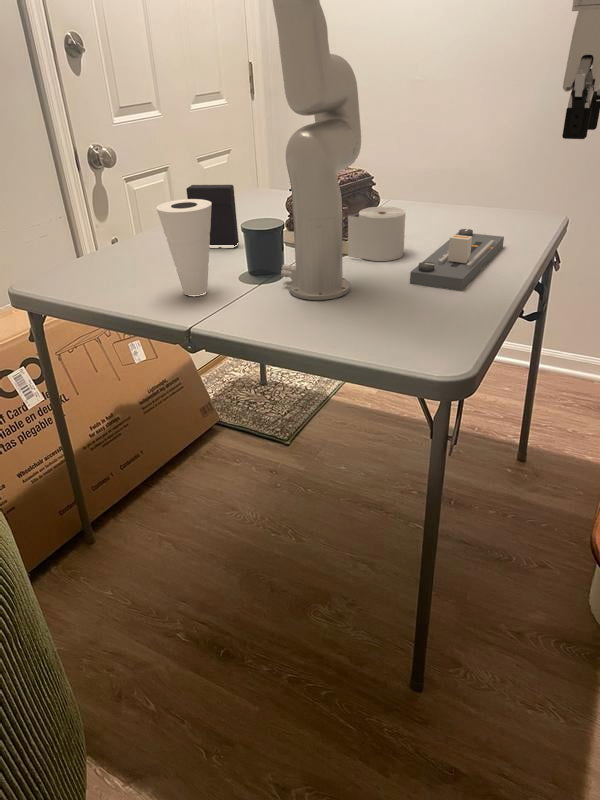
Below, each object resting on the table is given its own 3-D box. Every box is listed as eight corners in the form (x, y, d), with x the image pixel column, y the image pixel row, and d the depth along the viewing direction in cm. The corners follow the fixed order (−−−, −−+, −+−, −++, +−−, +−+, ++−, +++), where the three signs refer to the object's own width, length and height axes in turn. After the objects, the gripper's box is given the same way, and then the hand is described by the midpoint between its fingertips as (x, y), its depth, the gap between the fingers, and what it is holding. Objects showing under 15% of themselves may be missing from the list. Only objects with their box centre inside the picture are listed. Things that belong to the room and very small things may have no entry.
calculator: (239, 244, 159) (234, 183, 152) (235, 249, 156) (229, 187, 148) (199, 243, 161) (191, 184, 154) (193, 248, 158) (185, 187, 150)
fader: (447, 261, 132) (449, 237, 130) (451, 257, 134) (453, 234, 132) (466, 263, 131) (468, 239, 128) (469, 259, 133) (472, 236, 130)
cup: (231, 291, 130) (222, 203, 121) (190, 306, 124) (177, 214, 114) (200, 280, 137) (189, 196, 127) (160, 294, 130) (145, 207, 121)
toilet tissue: (412, 253, 147) (414, 210, 142) (383, 266, 140) (384, 221, 135) (376, 245, 154) (376, 204, 149) (345, 258, 146) (345, 215, 141)
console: (409, 283, 130) (410, 265, 128) (457, 242, 153) (459, 226, 151) (461, 290, 125) (463, 272, 123) (502, 247, 148) (504, 231, 146)
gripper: (583, 0, 92) (563, 125, 101) (562, -3, 79) (541, 141, 88) (640, -4, 89) (614, 126, 97) (626, -7, 76) (598, 143, 85)
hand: (579, 133), depth 93 cm, fingers open, 9 cm apart
